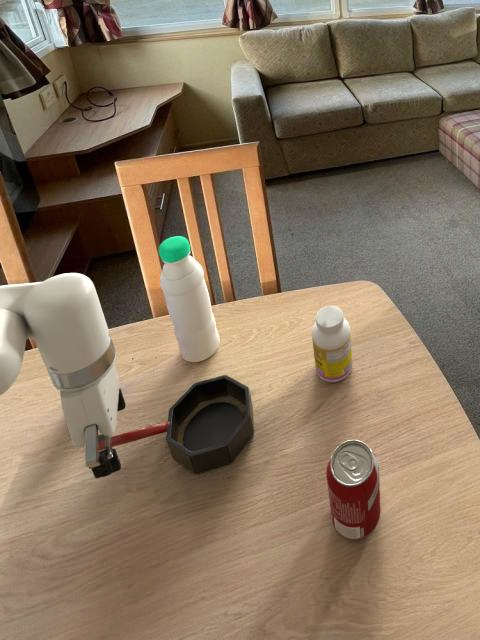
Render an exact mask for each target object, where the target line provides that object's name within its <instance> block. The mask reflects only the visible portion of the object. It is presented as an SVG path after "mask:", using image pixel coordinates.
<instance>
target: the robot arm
mask: <svg viewBox="0 0 480 640" xmlns="http://www.w3.org/2000/svg"><path fill="white" fill-rule="evenodd" d="M28 339H31V340H34V343H35V344H36V347H37V350H38V352H39V354H40V357H41V359H42V361H43V363H44V366H45V368H46V371H47V373H48V375H49V377H50V380H51V383H52V385H53V387H54V388H55V389H56V390H58V391H59V397H60V403H61V408H62V412H63V416H64V421H65V424H66V427H67V430H68V433H69V436H70V440H71V442H72V445H73V447H74V448H75V449H76V450H80V449H83V448H84V450H85V452H84V454H85V457H84V458H85V461H84V462H85V467H86V468H89V470H90V469H91V471H92V473H93V476H94V478H95V479H100V478H105V477H109V476H111V475H112V474H114V473H117V472H119V471H121V470H122V463H121V460H120V457H119V455H118V453H117V450H116V448H113V447H112V441H111V437H113V436H114V434H115V432H116V428H117V427H116V426H117V419H118V418H117V417H118V412H121V411H123V410H125V409H126V407H127V406H126V405H127V404H126V400H125V398H124V395H123V392H122V389H121V388H120V378H119V377H120V376H119V373H118V370H117V366H116V364H115V363H116V360H117V352H116V349H115V345H114V342H113V339H112V336H111V333H110V330H109V327H108V323H107V321H106V318H105V315H104V311H103V309H102V305H101V302H100V298H99V296H98V293H97V290H96V287H95V284H94V282H93V281H92V280H91V278H90V277H88V276H86V275H85V274H83V273H78V272H69V273H68V272H67V273H61V274H57V275H54V276H52V277H49V278H47V279H45V280H43V281H37V282H36V281H35V282H27V283H15V284H4V285H0V397H1V396H2V395H4V394H6V392H7V391H8V390H9V389H10V388H11V387H13V385H14V383H15V382H16V381H17V379H18V376H19V375H20V373H21V369H22V366H23V362H24V361H23V360H24V357H25V351H26V345H27V341H28ZM118 376H119V377H118ZM99 433H100V434H99ZM102 440H105V446H106V449H105V450H101V451H99V450H98V442H99V441H102Z"/></svg>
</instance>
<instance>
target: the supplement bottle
mask: <svg viewBox="0 0 480 640" xmlns="http://www.w3.org/2000/svg"><path fill="white" fill-rule="evenodd" d="M351 333H352V332H351V326H350V323H349V322H348V320H347V319H346V318H345V316H344V312H343V310H342V309H341V308H340V307H338V306H336V305H326V306H324V307H322V308H320V309H319V310H318V311H317V313H316V315H315V323H314V324H313V326H312V329H311V340H312V341H311V342H312V348H313V350H312V351H313V358H314V366H315V371H316V373H317V375H318V377H319V378H320V379H321V380H323V381H325V382H328V383H337V382H340V381H342V380H344V379H346V378H347V377H348V376H349V374H351V371H352V370H353V369H352V368H353V349H352V334H351Z"/></svg>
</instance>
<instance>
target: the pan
mask: <svg viewBox="0 0 480 640" xmlns="http://www.w3.org/2000/svg"><path fill="white" fill-rule="evenodd" d="M228 396H229V397H231V399H234V400H235V401H237V402H239V403H241V404H242V405H244V406H245V412H246V414H245V415H246V416H245V417H244V418H243V414H242V411H241V409H240V408H239V407H238V406H237V405H236V404H234V403H232V402H229V401H215V402H212V403H209V404H207V405H205V406H203V407H202V408H201V409H199V410H198V411H197V412H195V413H194V415H192V413H193V412H194V411H195V410H196V409H197V408H198V407H199V405H200V404H202V403H207V402H210V401H213V400H217V399H221V398H225V397H228ZM190 415H192V416H191V418H190V419H189V420H188V423H187V424H186V426H185V429H184V431H183V432H184V433H183V444H184V446H183V445H182V444H180V443H178V442H179V441H178V439H179V430H180V429H179V428H180V426H181V425H182V424H183V423H184V422H185V421H186V420H187V419H188V418H189V416H190ZM254 423H255V422H254V405H253V401H252V397H251V392H250V387H248V386H247V385H246V384H244V383H242V382H240V381H238V380H237V379H234V378H233V377H231V376H229V375H228V374H222V375H220V376H216V377H212V378H207V379H204V380H201V381H197V382H194V383H193V384H191V385H190V386H189V388H188V389H187V390H186V391H185V392H184V393H183V394H182V395H181V396H180V397H179V398H178V399H177V400H176V401H175V402H174V403H173V404H172V405H171V406H170V407H169V409H168V416H167V421H163V422H160V423H159V422H158V423H156V424H153V425H152V424H151V425H149V426H145V427H142V428H138V429H134V430H131V431H127V432H124V433H120V434H116V435H113V436H112V437H111V441H112V448H115V447H119V446H123V445H126V444H130V443H133V442H136V441H140V440H144V439H147V438H151V437H153V436H157V435H162V434H165V433H166V434H165V435H166V437H165V441H166V444H167V446H168V447H167V448H168V449H169V453H170V455H171V458H172V460H174V461H176V462H177V463H178V464H179V465H181V466H183V467H184V468H185V469H186V470H188V471H189V472H191V473H192V474H193V475H200V474H204V473H207V472H209V471H210V472H211V471H213V470H217V469H219V468H222V467H226V466H230V465H232V464H233V463H234V461H235V460H236V459H237V457H238V456H239V455H240V454H241V452H242V451H243V449H244V448H245V447H246V445H247V444H248V443H249V441H250V440H251V439H252V438H253V437H254V434H255V424H254ZM105 449H106V446H105V440H102V441H99V442H98V450H99V451H102V450H105Z"/></svg>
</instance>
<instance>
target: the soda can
mask: <svg viewBox="0 0 480 640" xmlns="http://www.w3.org/2000/svg"><path fill="white" fill-rule="evenodd" d="M325 472H326V484H327V492H328V493H327V494H328V501H329V510H330V518H331V523H332V525H333V527H334V529H335V531H336V532H337V533H338V534H339V536H341V537H342V538H344V539H346V540H348V541H349V540H350V541H360V540H363V539H366V538H367V537H369V536H370V535H371V534H372V533H373V532H374V530H375V529H376V527H377V525H379V522H380V518H381V511H382V510H381V508H382V507H381V486H380V485H381V484H380V483H381V482H380V466H379V461H378V458H377V456H376V454H375V453H374V452H373V450H372V449H371V448H370V446H368V444H366V443H365V442H364V441H361V440H358V439H350V440H346V441H343V442H342V443H340V444H339V445H338V446H337V447H336V448H335V449H334V450H333V452H332V454H331V457H330V458H329V461H328V463H327V465H326V471H325Z"/></svg>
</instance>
